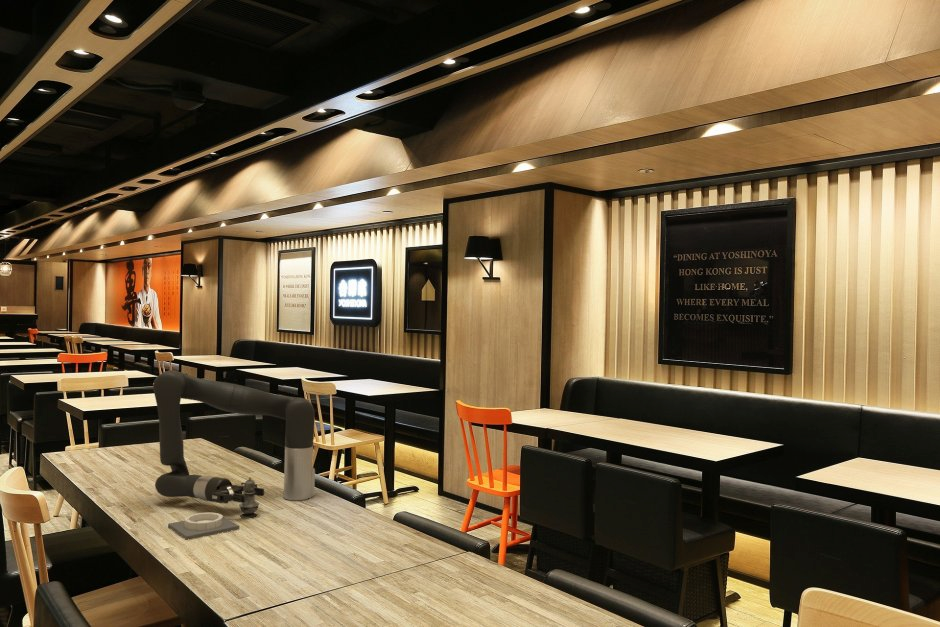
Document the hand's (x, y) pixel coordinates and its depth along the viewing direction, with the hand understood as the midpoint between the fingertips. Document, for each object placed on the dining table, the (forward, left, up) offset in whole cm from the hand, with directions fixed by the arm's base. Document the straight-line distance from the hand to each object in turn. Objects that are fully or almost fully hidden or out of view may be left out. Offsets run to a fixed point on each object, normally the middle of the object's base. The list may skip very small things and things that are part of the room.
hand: (254, 495), depth 207 cm
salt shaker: (+1, -2, -7) cm, 7 cm away
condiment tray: (+16, +1, -7) cm, 17 cm away
